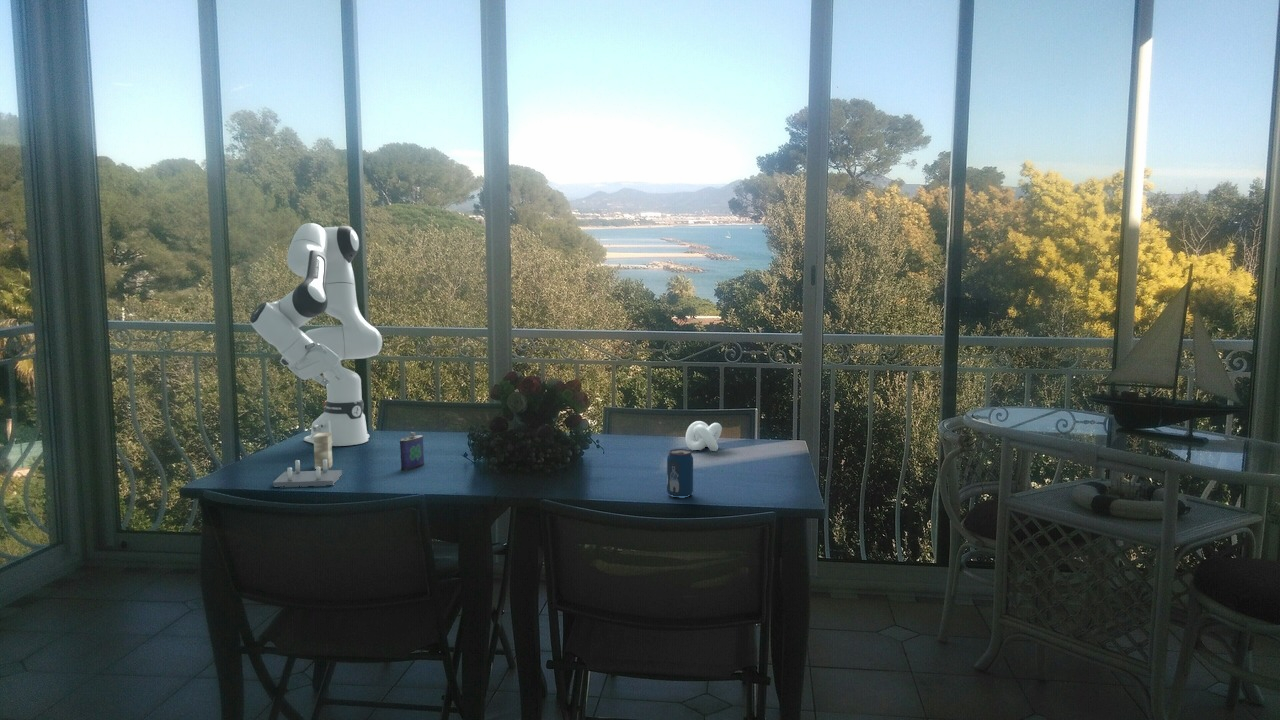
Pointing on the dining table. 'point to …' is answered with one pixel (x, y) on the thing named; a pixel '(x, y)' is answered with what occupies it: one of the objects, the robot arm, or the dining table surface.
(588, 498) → the dining table surface
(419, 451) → the flask
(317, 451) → the birch block
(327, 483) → the chassis plate
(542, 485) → the dining table surface
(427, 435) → the dining table surface
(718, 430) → the white knot sculpture
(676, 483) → the soda can
